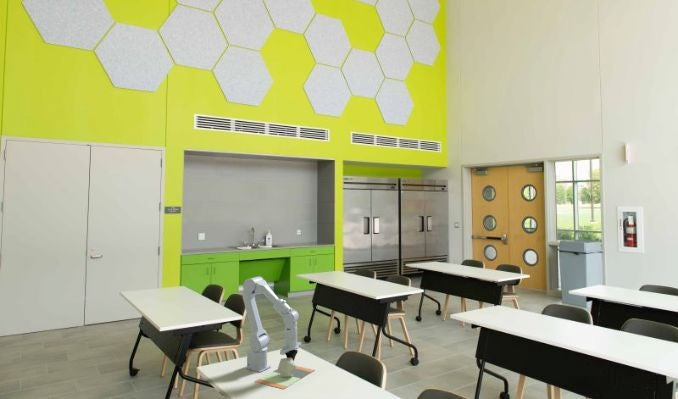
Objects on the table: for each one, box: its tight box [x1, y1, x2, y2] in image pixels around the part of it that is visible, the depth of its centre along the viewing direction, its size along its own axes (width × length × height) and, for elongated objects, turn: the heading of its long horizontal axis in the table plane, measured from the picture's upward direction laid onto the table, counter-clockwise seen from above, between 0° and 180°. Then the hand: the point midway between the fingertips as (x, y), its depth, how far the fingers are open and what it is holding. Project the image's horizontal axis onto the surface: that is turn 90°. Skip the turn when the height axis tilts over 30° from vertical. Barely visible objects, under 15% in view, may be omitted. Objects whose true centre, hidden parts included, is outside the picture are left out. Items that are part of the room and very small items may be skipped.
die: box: [277, 357, 297, 378], centre depth 191 cm, size 8×9×10 cm
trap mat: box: [254, 365, 315, 390], centre depth 192 cm, size 16×25×1 cm, turn 151°
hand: (290, 365), depth 195 cm, fingers closed, pressing on die
